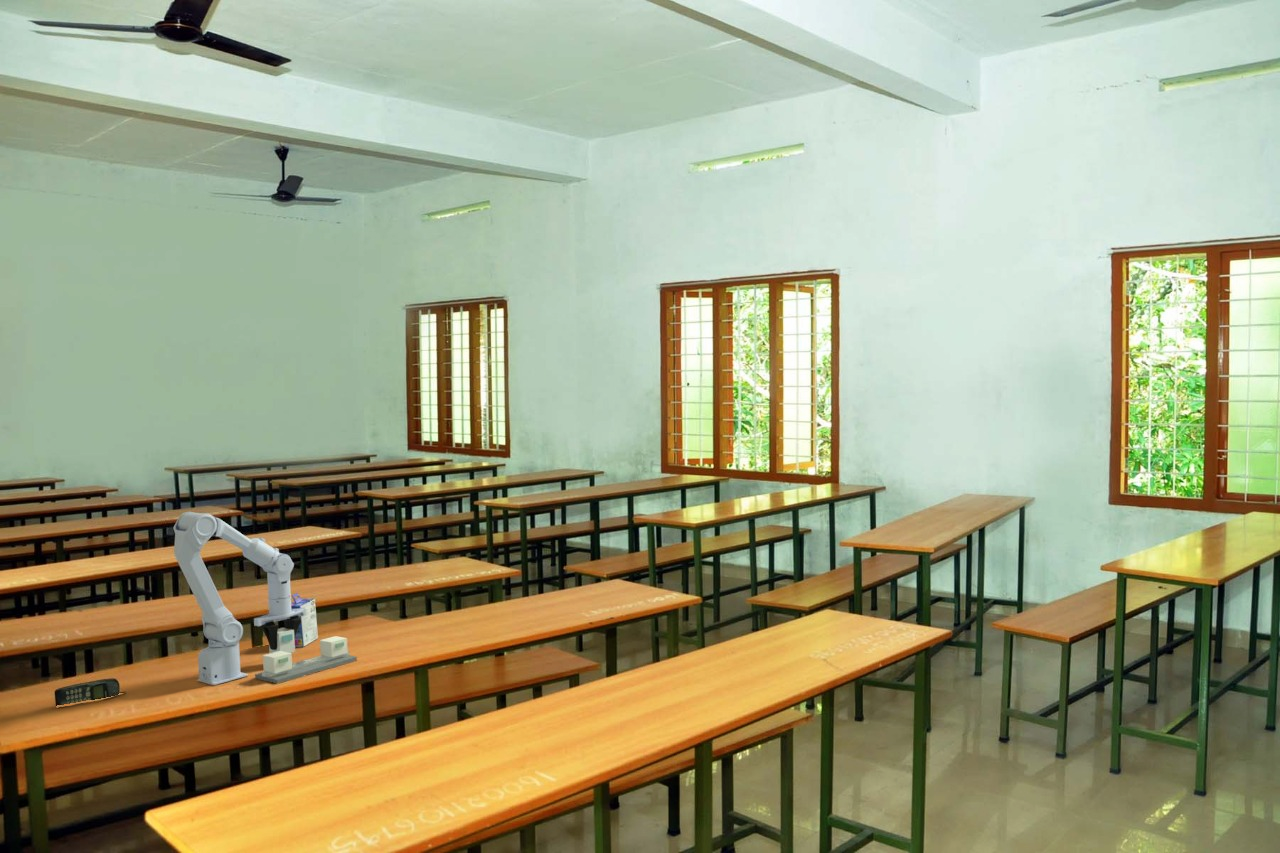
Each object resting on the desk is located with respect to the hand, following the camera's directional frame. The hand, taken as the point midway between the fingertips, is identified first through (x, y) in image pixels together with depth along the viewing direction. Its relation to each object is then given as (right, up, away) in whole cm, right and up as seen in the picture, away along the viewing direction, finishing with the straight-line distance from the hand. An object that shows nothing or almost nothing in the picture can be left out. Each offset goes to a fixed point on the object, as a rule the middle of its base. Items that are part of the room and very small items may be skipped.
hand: (282, 647), depth 264 cm
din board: (+9, -4, -6) cm, 12 cm away
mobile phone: (-36, -7, -27) cm, 46 cm away
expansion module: (0, -2, 0) cm, 2 cm away
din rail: (+9, -4, -6) cm, 12 cm away
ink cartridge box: (-2, -4, +22) cm, 22 cm away
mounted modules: (+9, -2, -7) cm, 11 cm away
